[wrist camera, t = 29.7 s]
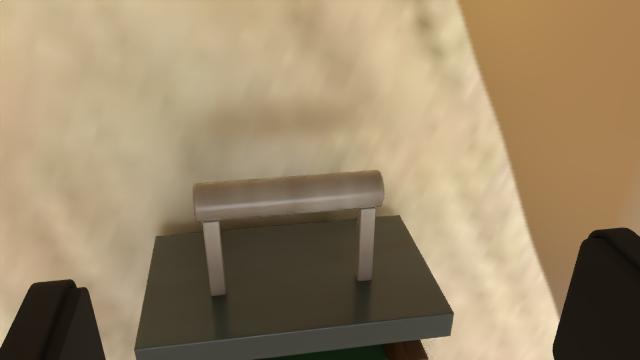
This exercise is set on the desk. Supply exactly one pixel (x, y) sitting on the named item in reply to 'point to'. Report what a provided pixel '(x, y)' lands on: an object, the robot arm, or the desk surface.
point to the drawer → (290, 277)
